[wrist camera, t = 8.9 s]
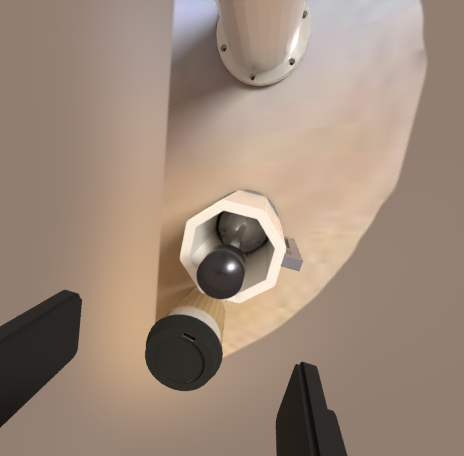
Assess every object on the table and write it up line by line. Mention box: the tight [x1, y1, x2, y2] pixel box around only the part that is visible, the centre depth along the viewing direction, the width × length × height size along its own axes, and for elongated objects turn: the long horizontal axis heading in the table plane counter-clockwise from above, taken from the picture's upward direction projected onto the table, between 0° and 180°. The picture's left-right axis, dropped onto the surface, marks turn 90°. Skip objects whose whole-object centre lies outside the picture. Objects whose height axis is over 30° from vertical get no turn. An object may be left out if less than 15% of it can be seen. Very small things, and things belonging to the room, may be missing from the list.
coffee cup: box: [145, 286, 226, 391], centre depth 36 cm, size 10×10×15 cm
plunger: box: [196, 211, 267, 299], centre depth 28 cm, size 7×7×18 cm
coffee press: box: [179, 190, 303, 303], centre depth 32 cm, size 11×13×16 cm
